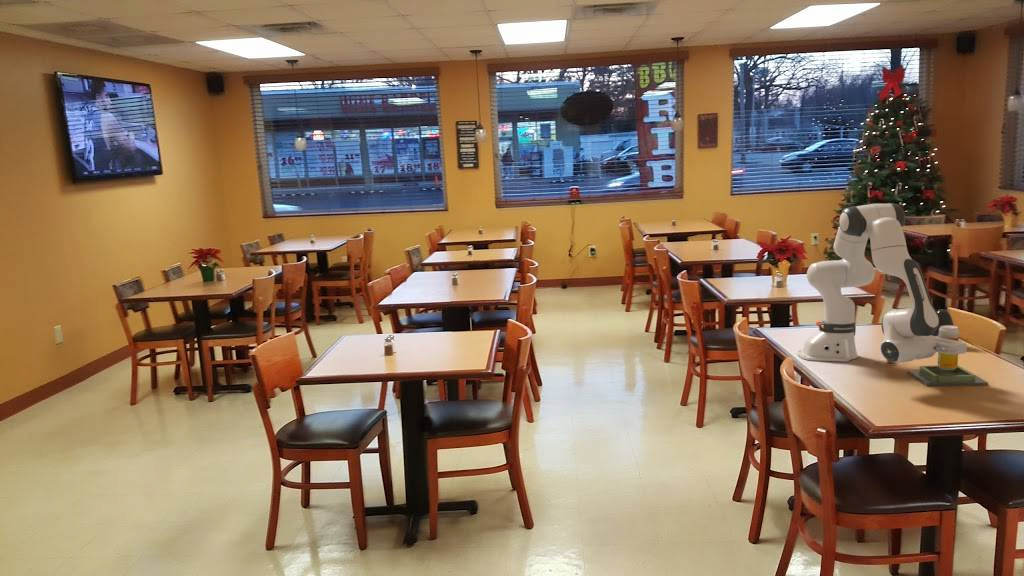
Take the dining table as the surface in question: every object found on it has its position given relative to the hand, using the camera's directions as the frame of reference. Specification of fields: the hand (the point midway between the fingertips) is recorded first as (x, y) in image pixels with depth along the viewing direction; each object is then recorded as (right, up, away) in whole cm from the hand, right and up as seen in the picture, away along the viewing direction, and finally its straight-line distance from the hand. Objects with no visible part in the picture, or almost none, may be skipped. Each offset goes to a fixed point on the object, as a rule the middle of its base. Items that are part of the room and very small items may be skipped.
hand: (950, 340), depth 259 cm
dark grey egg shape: (+24, -5, +47) cm, 53 cm away
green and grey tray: (0, -14, +2) cm, 14 cm away
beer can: (0, -10, +1) cm, 10 cm away
